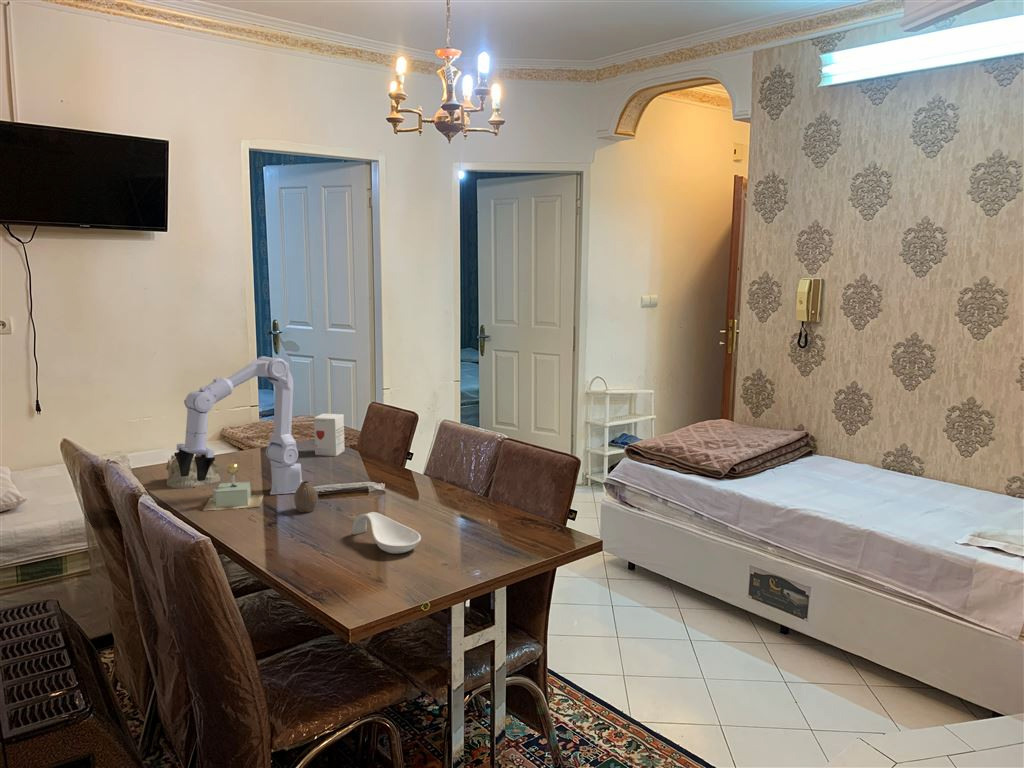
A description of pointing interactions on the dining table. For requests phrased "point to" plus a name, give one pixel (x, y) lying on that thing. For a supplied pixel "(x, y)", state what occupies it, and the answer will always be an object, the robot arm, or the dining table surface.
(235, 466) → the gold rounded piece
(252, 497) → the cork mat
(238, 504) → the mint green slotted box
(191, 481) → the sand castle
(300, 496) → the vase
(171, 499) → the dining table surface
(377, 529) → the spoon rest
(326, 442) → the supplement box
